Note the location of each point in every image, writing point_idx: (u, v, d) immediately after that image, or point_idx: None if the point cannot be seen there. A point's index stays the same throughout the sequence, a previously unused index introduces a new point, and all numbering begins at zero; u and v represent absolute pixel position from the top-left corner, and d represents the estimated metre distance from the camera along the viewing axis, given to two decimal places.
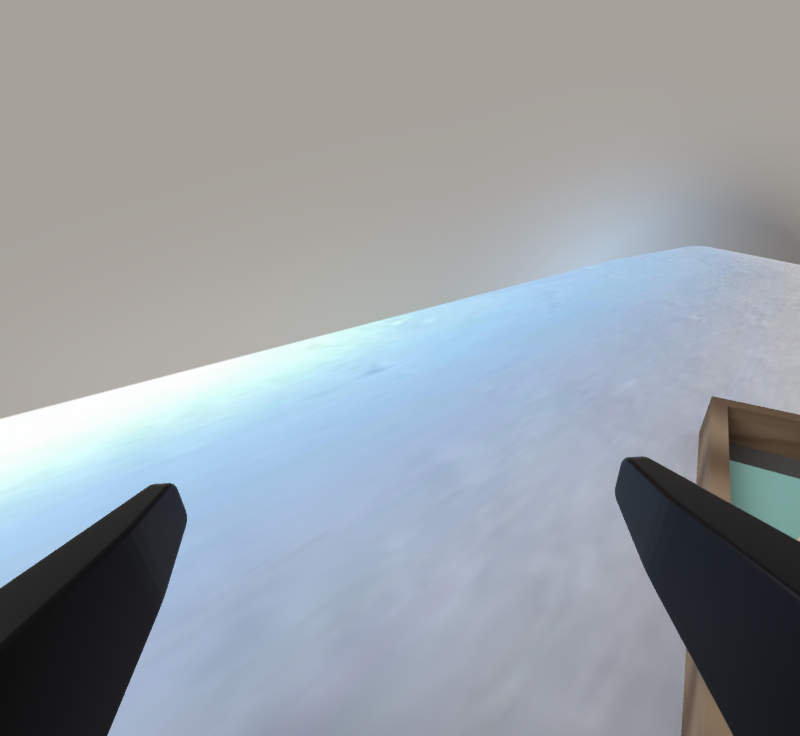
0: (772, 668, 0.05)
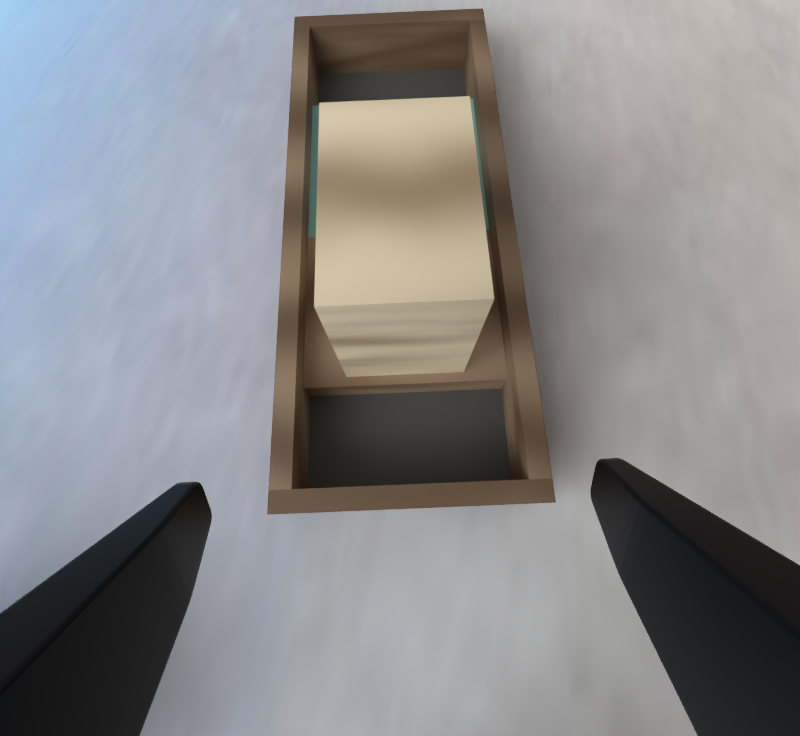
0: (733, 670, 0.05)
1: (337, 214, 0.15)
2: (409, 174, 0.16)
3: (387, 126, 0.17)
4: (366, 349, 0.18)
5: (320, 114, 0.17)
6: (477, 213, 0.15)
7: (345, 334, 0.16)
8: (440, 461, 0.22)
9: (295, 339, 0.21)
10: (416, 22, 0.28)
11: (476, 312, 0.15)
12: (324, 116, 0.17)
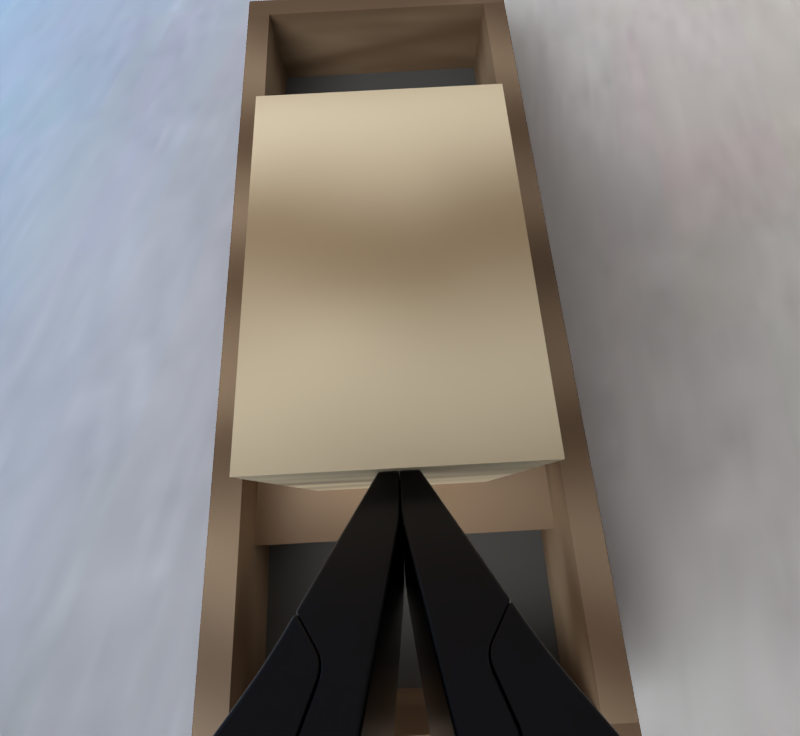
0: (431, 688, 0.05)
1: (279, 292, 0.09)
2: (404, 217, 0.09)
3: (367, 134, 0.10)
4: (340, 483, 0.12)
5: (257, 115, 0.10)
6: (525, 289, 0.09)
7: (302, 481, 0.10)
8: None
9: (239, 481, 0.14)
10: (412, 7, 0.21)
11: (525, 464, 0.09)
12: (263, 119, 0.10)
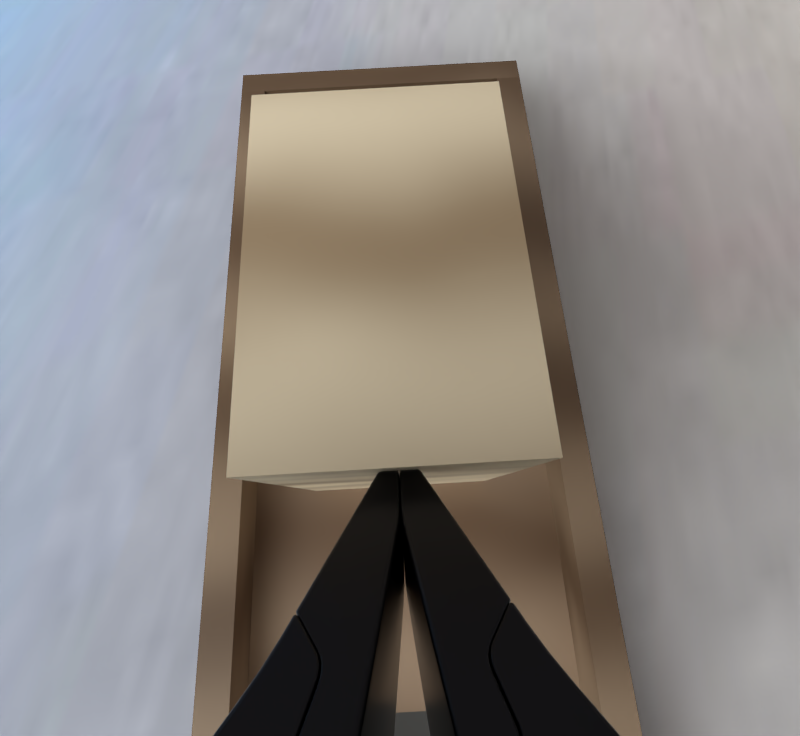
0: (431, 688, 0.05)
1: (275, 291, 0.09)
2: (400, 216, 0.09)
3: (363, 132, 0.10)
4: (338, 483, 0.11)
5: (252, 114, 0.10)
6: (522, 287, 0.09)
7: (299, 481, 0.10)
8: None
9: (229, 660, 0.12)
10: (420, 82, 0.19)
11: (524, 463, 0.08)
12: (259, 117, 0.10)
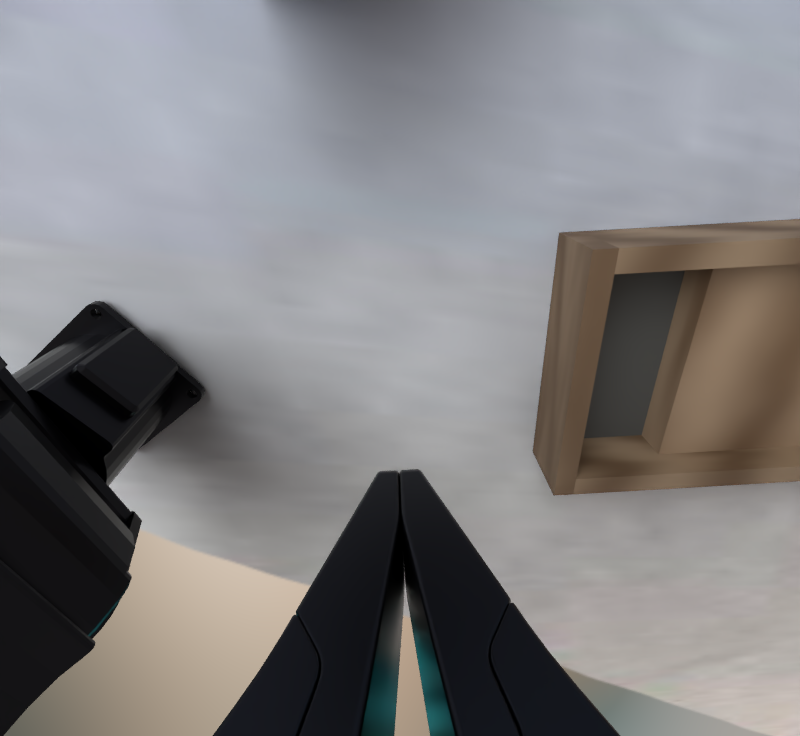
0: (431, 688, 0.05)
1: None
2: None
3: None
4: None
5: None
6: None
7: None
8: None
9: (797, 261, 0.16)
10: None
11: None
12: None
